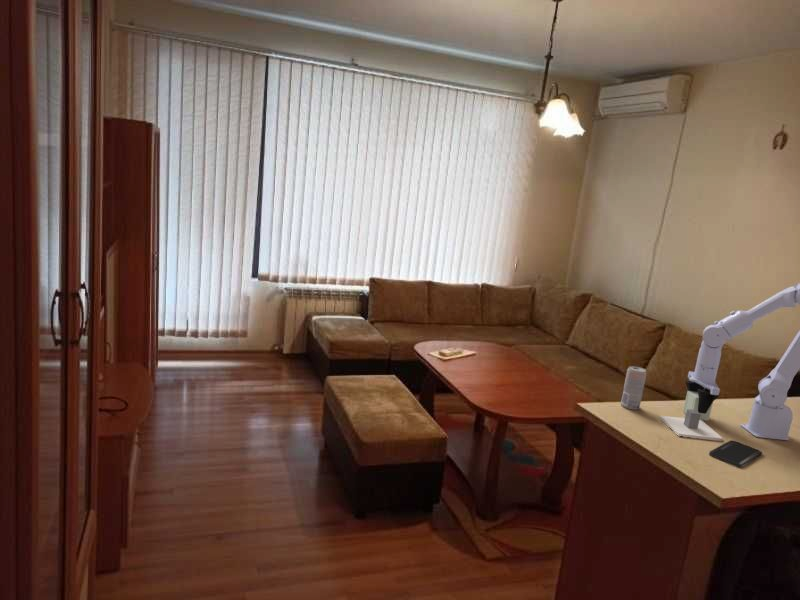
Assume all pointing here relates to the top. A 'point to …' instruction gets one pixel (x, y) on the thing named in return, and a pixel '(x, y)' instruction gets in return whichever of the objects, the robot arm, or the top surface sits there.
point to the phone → (735, 453)
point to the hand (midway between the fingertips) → (697, 408)
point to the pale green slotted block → (695, 404)
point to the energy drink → (633, 387)
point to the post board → (691, 432)
